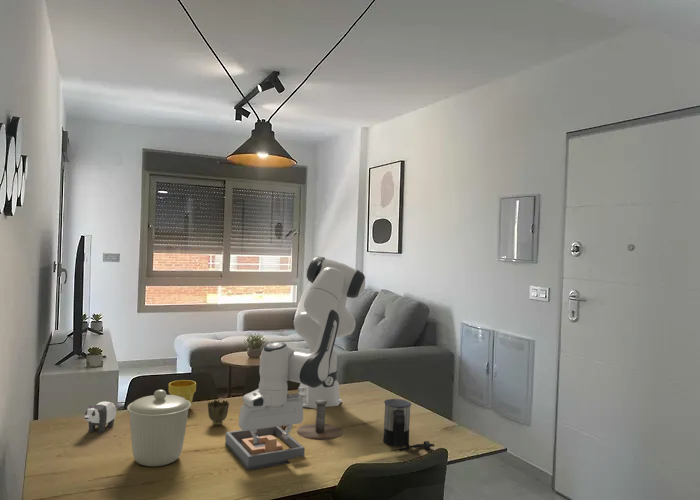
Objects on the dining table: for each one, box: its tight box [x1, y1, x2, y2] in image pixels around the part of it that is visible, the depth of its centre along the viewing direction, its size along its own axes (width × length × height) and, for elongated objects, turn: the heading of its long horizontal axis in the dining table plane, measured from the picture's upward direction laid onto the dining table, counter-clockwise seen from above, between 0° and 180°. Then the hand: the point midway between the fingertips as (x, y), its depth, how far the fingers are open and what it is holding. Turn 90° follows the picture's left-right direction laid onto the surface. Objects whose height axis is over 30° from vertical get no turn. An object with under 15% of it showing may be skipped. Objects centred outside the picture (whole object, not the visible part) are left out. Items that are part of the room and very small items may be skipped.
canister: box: [126, 389, 192, 467], centre depth 163 cm, size 18×18×21 cm
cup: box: [207, 399, 230, 427], centre depth 195 cm, size 8×7×8 cm
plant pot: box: [168, 379, 197, 410], centre depth 212 cm, size 10×10×10 cm
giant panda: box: [83, 401, 117, 434], centre depth 184 cm, size 15×6×10 cm, turn 174°
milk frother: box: [382, 398, 435, 451], centre depth 182 cm, size 14×16×15 cm
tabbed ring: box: [242, 434, 283, 455], centre depth 172 cm, size 14×10×6 cm
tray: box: [225, 426, 305, 471], centre depth 172 cm, size 22×18×4 cm
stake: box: [296, 400, 344, 441], centre depth 189 cm, size 16×16×12 cm
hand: (270, 440), depth 168 cm, fingers open, 8 cm apart
